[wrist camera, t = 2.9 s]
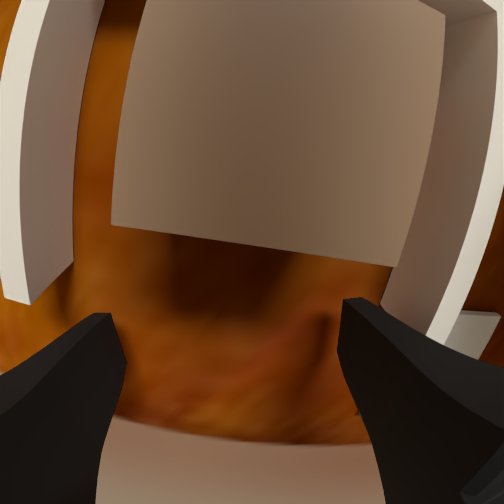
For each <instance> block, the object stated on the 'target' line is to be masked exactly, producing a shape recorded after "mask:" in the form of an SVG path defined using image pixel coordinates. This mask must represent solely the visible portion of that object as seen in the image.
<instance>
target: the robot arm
mask: <svg viewBox="0 0 504 504" xmlns="http://www.w3.org/2000/svg"><path fill="white" fill-rule="evenodd" d="M337 354H338V357H339V361H340V365H341V368H342V372H343V375H344V378H345V380H346V383H347V385H348V387H349V390H350V392H351V394H352V397H353V399H354V401H355V403H356V406H357V408H358V410H359V413H360V415H361V417H362V420H363V422H364V424H365V427H366V429H367V431H368V434H369V437H370V440H371V442H372V446H373V449H374V453H375V457H376V461H377V464H378V468H379V472H380V477H381V481H382V485H383V490H384V496H385V501H386V504H504V368H502V367H499V366H496V365H492V364H489V363H486V362H483V361H480V360H477V359H475V358H472V357H469V356H467V355H465V354H462V353H460V352H458V351H455V350H453V349H451V348H449V347H447V346H444V345H442V344H440V343H438V342H437V341H435V340H433V339H431V338H429V337H427V336H425V335H424V334H422V333H420V332H418V331H417V330H415V329H413V328H411V327H410V326H408V325H406V324H405V323H403V322H402V321H400V320H398V319H397V318H395V317H394V316H392V315H390V314H389V313H387V312H386V311H384V310H382V309H381V308H379V307H378V306H376V305H374V304H373V303H371V302H369V301H368V300H366V299H364V298H362V297H359V298H350V299H343V304H342V314H341V322H340V331H339V338H338V346H337ZM126 364H127V361H126V359H125V356H124V353H123V350H122V347H121V344H120V341H119V338H118V335H117V332H116V329H115V325H114V322H113V319H112V315H111V313H93V314H91V315H90V316H88V317H86V318H85V319H83V320H82V321H80V322H79V323H77V324H76V325H75V326H73V327H72V328H70V329H69V330H68V331H66V332H65V333H64V334H62V335H61V336H60V337H58V338H57V339H55V340H54V341H53V342H51V343H50V344H49V345H47V346H46V347H44V348H43V349H41V350H40V351H39V352H37V353H36V354H34V355H33V356H31V357H30V358H28V359H27V360H26V361H24V362H22V363H21V364H19V365H18V366H16V367H14V368H13V369H11V370H9V371H8V372H6V373H4V374H2V375H0V504H95V499H96V487H97V477H98V471H99V464H100V458H101V453H102V448H103V444H104V441H105V438H106V435H107V431H108V428H109V425H110V422H111V419H112V416H113V413H114V410H115V407H116V404H117V401H118V398H119V395H120V392H121V389H122V385H123V380H124V375H125V370H126Z"/></svg>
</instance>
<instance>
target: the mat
mask: <svg viewBox="0 0 504 504" xmlns="http://www.w3.org/2000/svg"><path fill="white" fill-rule="evenodd" d="M500 318H501V316H500V315H499V314H498V313H497V312H480V311H464V310H461V311H460V313H459V315H458V317H457V319H456V321H455V323H454V325H453V328H452V330H451V332H450V334H449V335H448V337H447V339H446V341H445V343H444V346H447V347H449V348H451V349H453V350H455V351H458V352H460V353H462V354H465V355H467V356H469V357H472V358H475V359H477V360H478V359H479V357H480V356H481V354H482V352H483V350H484V349H485V347H486V345H487V343H488V341H489V339H490V338H491V336H492V334H493V332H494V330H495V328H496V326H497V324H498V322H499V320H500ZM358 411H359V410H358ZM359 414H360V413H359ZM360 416H361V415H360Z"/></svg>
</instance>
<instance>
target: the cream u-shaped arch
mask: <svg viewBox="0 0 504 504" xmlns="http://www.w3.org/2000/svg"><path fill="white" fill-rule="evenodd" d="M418 1H420V2H422V3H424V4H426V5H428V6H430V7H432V8H433V9H435V10H437V11H439V12H441V13H442V14H444V15H445V38H444V52H443V63H442V73H441V82H440V90H439V97H438V104H437V110H436V116H435V122H434V128H433V133H432V139H431V144H430V149H429V153H428V158H427V163H426V167H425V171H424V176H423V180H422V184H421V188H420V192H419V195H418V199H417V203H416V207H415V210H414V214H413V217H412V221H411V224H410V228H409V231H408V234H407V237H406V240H405V244H404V247H403V250H402V253H401V256H400V259H399V262H398V265H397V267H393V269H392V272H391V275H390V278H389V281H388V283H387V286H386V289H385V292H384V294H383V297H382V299H381V302H380V304H381V306H382V307H383V308H384V310H385V311H386V312H387V313H389V314H390V315H392V316H394V317H395V318H397V319H398V320H400V321H402V322H403V323H405V324H406V325H408V326H410V327H411V328H413V329H415V330H417V331H418V332H420V333H422V334H424V335H425V336H427V337H429V338H431V339H433V340H435V341H437V342H438V343H440V344H442V345H444V343H445V341H446V339H447V337H448V335H449V334H450V332H451V330H452V328H453V325H454V323H455V321H456V319H457V317H458V315H459V313H460V311H461V309H462V306H463V304H464V302H465V300H466V297H467V295H468V293H469V290H470V288H471V286H472V283H473V281H474V278H475V276H476V273H477V270H478V268H479V265H480V262H481V260H482V257H483V254H484V251H485V248H486V246H487V243H488V240H489V236H490V233H491V230H492V227H493V224H494V220H495V217H496V213H497V210H498V206H499V202H500V198H501V194H502V190H503V186H504V0H418ZM104 2H105V0H22V1H21V4H20V7H19V10H18V13H17V16H16V19H15V23H14V26H13V30H12V33H11V37H10V40H9V44H8V48H7V53H6V57H5V61H4V66H3V71H2V76H1V82H0V275H1V281H2V287H3V292H4V297H5V298H7V299H10V300H14V301H17V302H21V303H24V304H28V305H31V304H32V303H33V302H34V301H35V300H36V299H37V298H38V296H39V295H40V294H41V293H42V292H43V291H44V290H45V289H46V288H47V287H48V286H49V285H50V284H51V283H52V282H53V281H54V280H55V279H56V278H57V277H58V276H59V275H60V274H61V273H62V272H63V271H64V270H65V269H66V268H67V267H68V266H69V265H70V264H71V263H72V262H73V261H74V259H73V223H72V214H73V179H74V163H75V150H76V140H77V130H78V122H79V114H80V107H81V101H82V95H83V89H84V83H85V78H86V73H87V68H88V63H89V58H90V54H91V50H92V45H93V41H94V37H95V33H96V30H97V26H98V22H99V19H100V15H101V12H102V9H103V5H104Z"/></svg>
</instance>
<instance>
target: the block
mask: <svg viewBox="0 0 504 504" xmlns="http://www.w3.org/2000/svg"><path fill="white" fill-rule="evenodd" d="M444 38H445V15H444V14H442V13H441V12H439V11H437V10H435V9H433V8H432V7H430V6H428V5H426V4H424V3H422V2H420V1H418V0H147V1H146V4H145V8H144V11H143V15H142V18H141V22H140V26H139V29H138V33H137V37H136V41H135V46H134V50H133V54H132V59H131V63H130V68H129V73H128V78H127V83H126V89H125V94H124V100H123V106H122V112H121V119H120V126H119V133H118V141H117V150H116V159H115V169H114V181H113V195H112V212H111V225H116V226H123V227H130V228H137V229H144V230H151V231H158V232H165V233H172V234H178V235H185V236H192V237H199V238H206V239H213V240H219V241H226V242H233V243H240V244H246V245H253V246H260V247H266V248H273V249H280V250H286V251H293V252H300V253H306V254H313V255H319V256H326V257H332V258H339V259H345V260H352V261H358V262H365V263H371V264H378V265H384V266H390V267H397V265H398V262H399V259H400V256H401V253H402V250H403V247H404V244H405V240H406V237H407V234H408V231H409V228H410V224H411V221H412V217H413V214H414V210H415V207H416V203H417V199H418V195H419V192H420V188H421V184H422V180H423V176H424V171H425V167H426V163H427V158H428V153H429V149H430V144H431V139H432V133H433V128H434V122H435V116H436V110H437V104H438V97H439V90H440V82H441V73H442V63H443V52H444Z"/></svg>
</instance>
